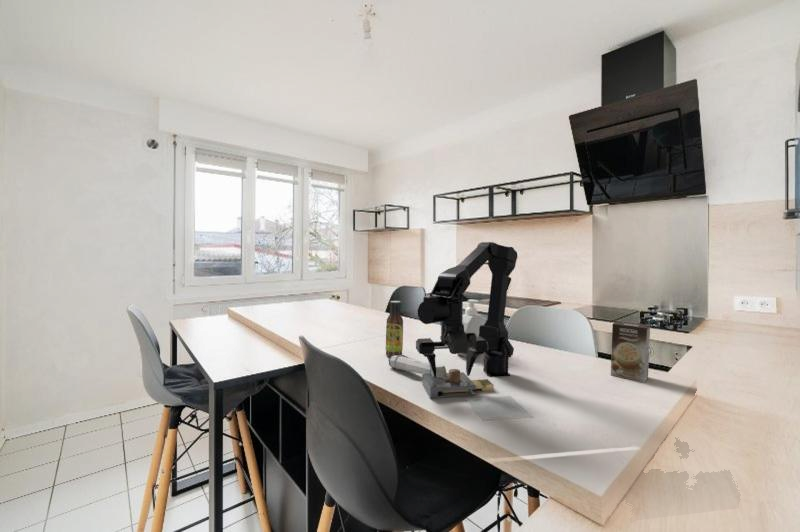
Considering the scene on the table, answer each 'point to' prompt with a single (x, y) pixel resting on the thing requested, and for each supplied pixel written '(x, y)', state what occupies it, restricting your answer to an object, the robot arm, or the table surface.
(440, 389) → the grey block with slider
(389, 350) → the sauce bottle
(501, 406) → the grey mat
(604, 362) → the table surface
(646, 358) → the coffee box
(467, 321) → the soap bottle
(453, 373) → the walnut peg
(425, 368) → the white long cylinder
